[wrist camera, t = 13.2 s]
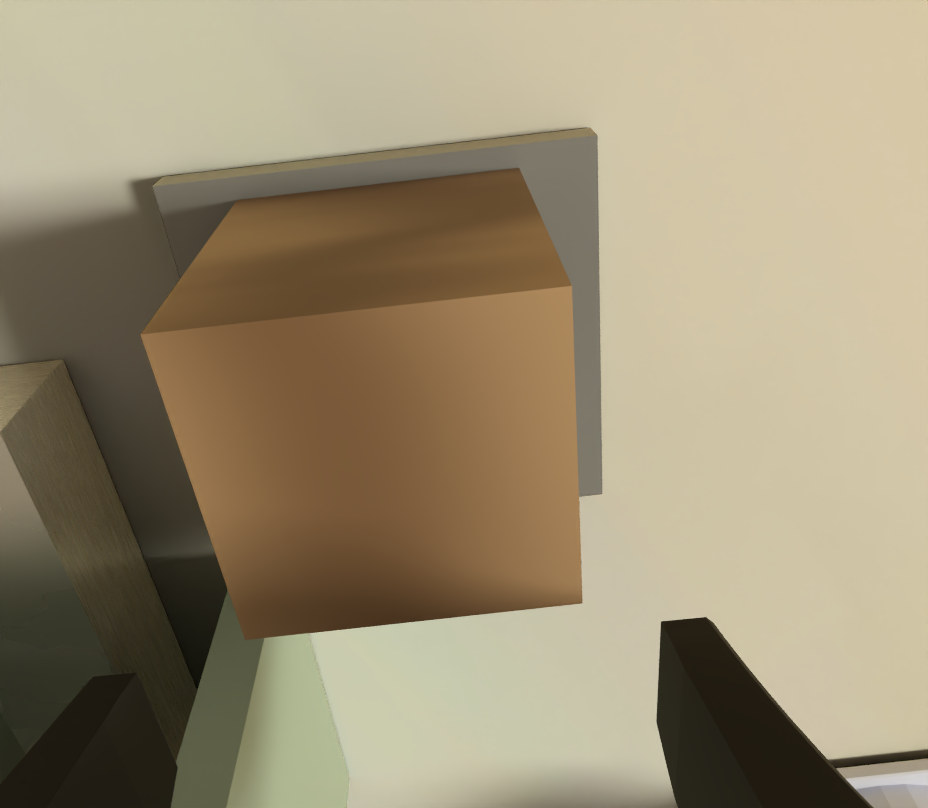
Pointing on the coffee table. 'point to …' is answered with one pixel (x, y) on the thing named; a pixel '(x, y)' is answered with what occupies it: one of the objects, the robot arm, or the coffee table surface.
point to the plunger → (72, 568)
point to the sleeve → (251, 728)
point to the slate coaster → (536, 155)
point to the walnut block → (379, 404)
